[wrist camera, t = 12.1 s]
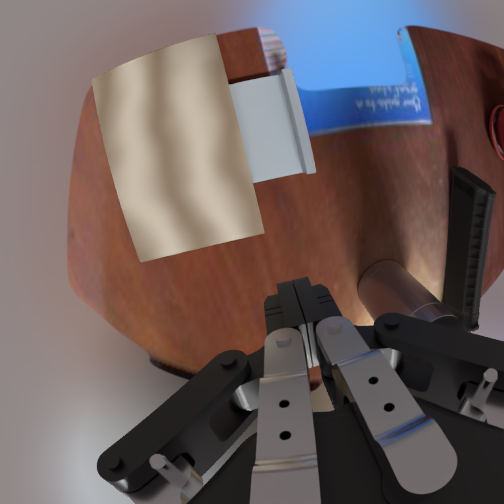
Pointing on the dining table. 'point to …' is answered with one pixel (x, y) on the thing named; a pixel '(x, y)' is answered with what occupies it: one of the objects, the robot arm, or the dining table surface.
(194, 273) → the dining table surface
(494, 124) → the plant pot
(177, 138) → the small table
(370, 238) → the dining table surface
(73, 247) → the dining table surface
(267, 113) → the slab
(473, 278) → the magazine
